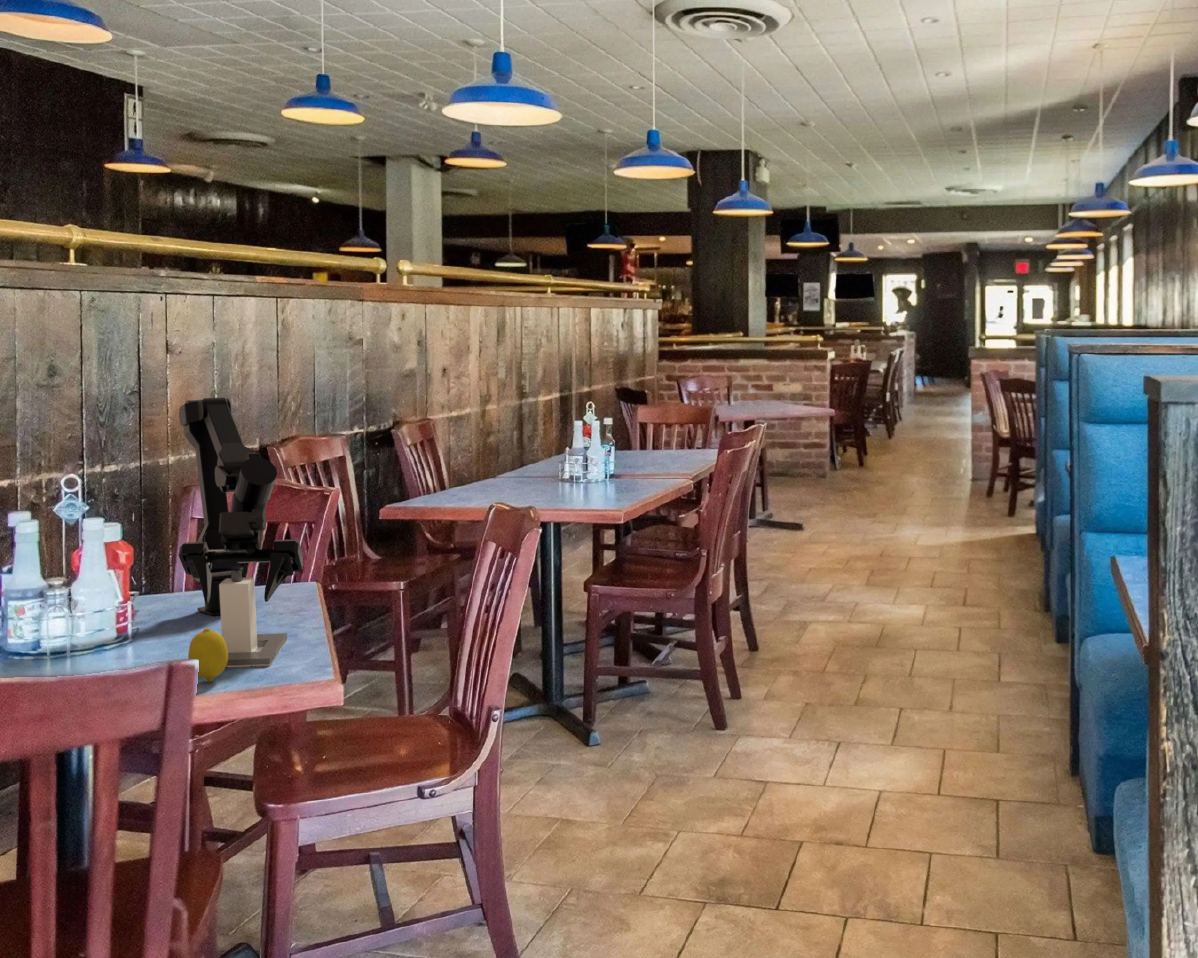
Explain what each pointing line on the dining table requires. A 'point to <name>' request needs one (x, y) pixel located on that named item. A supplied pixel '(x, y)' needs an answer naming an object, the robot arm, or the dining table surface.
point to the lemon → (209, 653)
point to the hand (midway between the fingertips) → (236, 601)
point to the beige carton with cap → (238, 613)
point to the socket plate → (259, 651)
